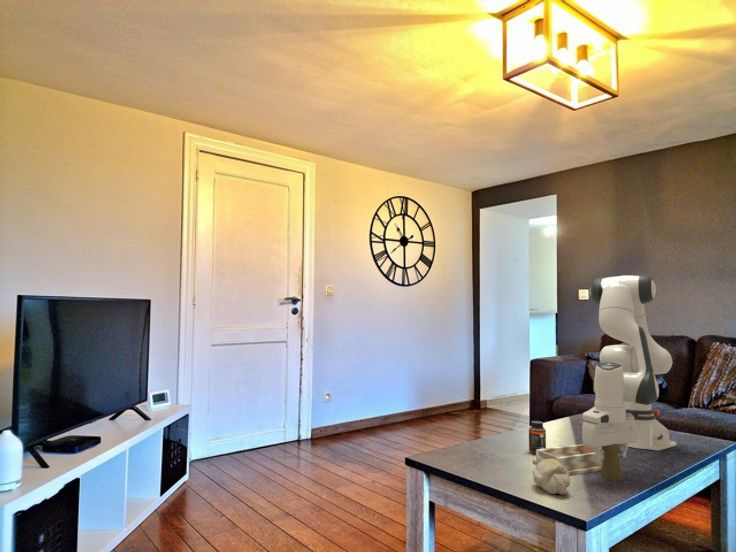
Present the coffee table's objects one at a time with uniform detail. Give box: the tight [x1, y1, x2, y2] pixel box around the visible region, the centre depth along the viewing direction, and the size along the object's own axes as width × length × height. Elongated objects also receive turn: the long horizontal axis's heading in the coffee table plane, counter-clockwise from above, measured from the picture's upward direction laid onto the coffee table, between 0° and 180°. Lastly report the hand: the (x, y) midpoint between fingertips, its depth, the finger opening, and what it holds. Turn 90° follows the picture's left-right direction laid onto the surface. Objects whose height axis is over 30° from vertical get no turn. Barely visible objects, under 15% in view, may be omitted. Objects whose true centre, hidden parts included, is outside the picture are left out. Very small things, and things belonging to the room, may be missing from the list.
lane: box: [532, 443, 604, 476], centre depth 163 cm, size 24×14×5 cm, turn 112°
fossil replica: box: [532, 459, 571, 495], centre depth 140 cm, size 12×8×10 cm
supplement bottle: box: [528, 420, 547, 455], centre depth 177 cm, size 6×6×11 cm
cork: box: [600, 444, 623, 482], centre depth 151 cm, size 6×6×11 cm
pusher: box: [581, 421, 603, 454], centre depth 166 cm, size 2×7×12 cm, turn 22°
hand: (611, 458), depth 151 cm, fingers open, 8 cm apart
